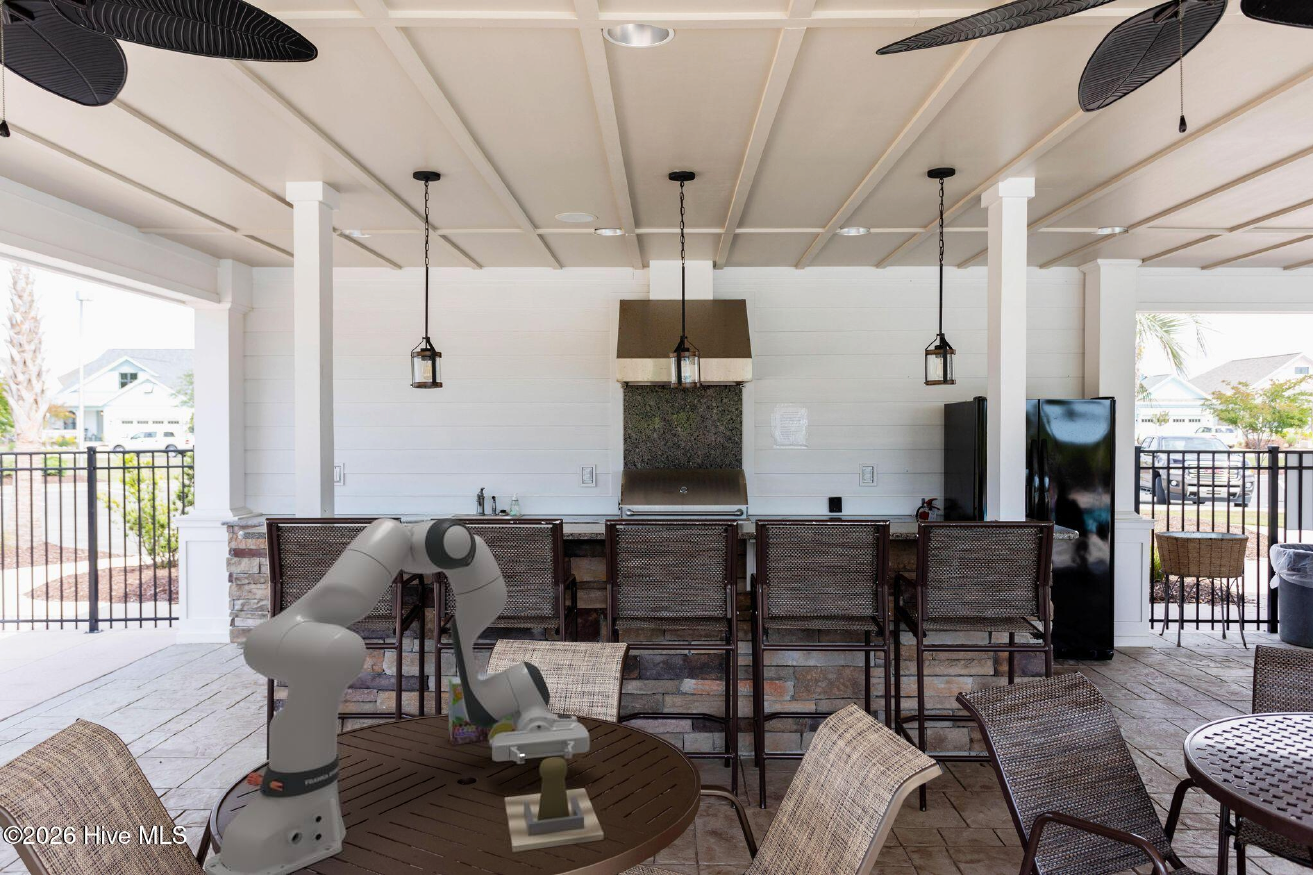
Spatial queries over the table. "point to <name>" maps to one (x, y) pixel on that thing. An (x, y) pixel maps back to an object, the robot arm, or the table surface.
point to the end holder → (554, 821)
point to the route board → (526, 842)
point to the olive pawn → (553, 789)
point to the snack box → (461, 726)
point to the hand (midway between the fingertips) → (544, 757)
